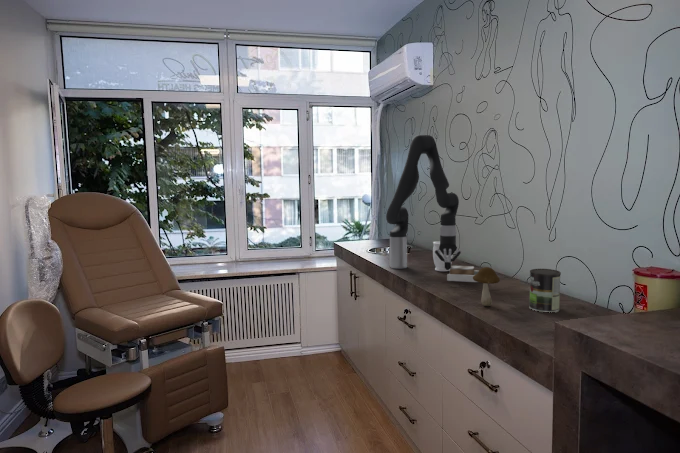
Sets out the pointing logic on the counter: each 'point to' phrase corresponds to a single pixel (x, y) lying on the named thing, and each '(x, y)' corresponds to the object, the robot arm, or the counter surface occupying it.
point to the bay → (461, 277)
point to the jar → (438, 263)
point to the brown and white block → (462, 270)
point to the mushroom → (486, 283)
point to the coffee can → (544, 290)
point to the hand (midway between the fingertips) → (447, 269)
